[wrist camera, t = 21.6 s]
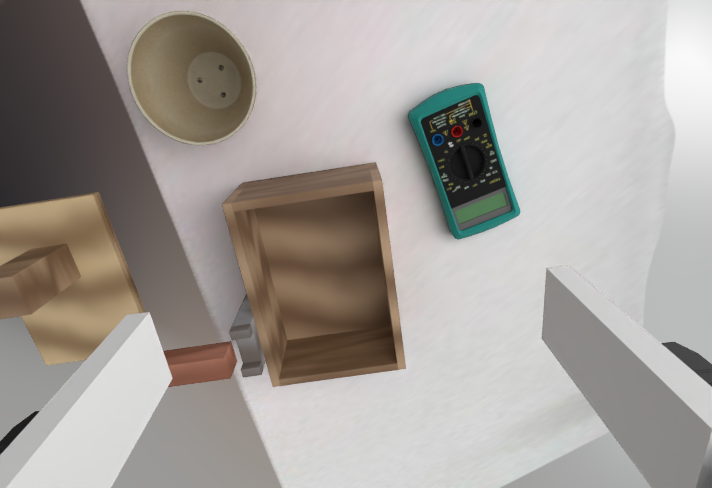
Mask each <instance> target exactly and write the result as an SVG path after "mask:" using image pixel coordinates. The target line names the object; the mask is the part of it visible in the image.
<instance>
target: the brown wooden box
mask: <svg viewBox="0 0 712 488" xmlns="http://www.w3.org/2000/svg"><path fill="white" fill-rule="evenodd" d="M222 207H223V210H224V214H225V217H226V221H227V225H228V228H229V232H230V235H231V239H232V242H233V246H234V250H235V253H236V257H237V260H238V264H239V268H240V271H241V275H242V278H243V282H244V285H245V289H246V293H247V294H246V296H245V298H244V300H243V303H242V305H241V307H240V309H239V312H238V314H237V316H236V318H235V320H234V323H233V325H232V327H231V329H230V332H229V333H230V336H231V340H236V341H237V345H238V348H239V351H240V354H241V358H242V361H243V365H242V368H241V372H242V375H243V377H249V376H256V375H262V371H263V367H264V364H265V361H266V364H267V368H268V371H269V375H270V379H271V382H272V386H273V387H276V386H283V385H291V384H298V383H305V382H312V381H320V380H327V379H334V378H342V377H349V376H356V375H363V374H371V373H378V372H385V371H393V370H400V369H406V365H405V357H404V349H403V341H402V333H401V326H400V318H399V310H398V302H397V294H396V286H395V278H394V270H393V262H392V254H391V247H390V239H389V231H388V223H387V215H386V207H385V199H384V191H383V183H382V179H381V176H380V173H379V170H378V168H377V165H376V162H375V163H368V164H362V165H355V166H349V167H342V168H336V169H329V170H323V171H316V172H310V173H303V174H297V175H290V176H283V177H277V178H270V179H264V180H257V181H251V182H244V183H242V184H241V185H240V186H239V187H238V188H237V189H236V190H235V191H234V192H233V193H232V195H231V196H230V197H229V198H228V199H227V200H226V201H225V202H224V203H223V204H222Z"/></svg>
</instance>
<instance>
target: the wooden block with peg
mask: <svg viewBox="0 0 712 488" xmlns="http://www.w3.org/2000/svg"><path fill="white" fill-rule="evenodd" d="M138 313H146V311H145V309H144V307H143V304H142V302H141V299H140V296H139V294H138V291H137V288H136V286H135V284H134V281H133V278H132V276H131V273H130V271H129V268H128V265H127V263H126V260H125V258H124V255H123V253H122V250H121V248H120V245H119V243H118V240H117V238H116V235H115V232H114V230H113V227H112V225H111V222H110V219H109V217H108V214H107V212H106V209H105V207H104V204H103V202H102V199H101V196H100V194H99V192H96V193H89V194H83V195H76V196H70V197H64V198H57V199H51V200H45V201H38V202H32V203H25V204H19V205H13V206H7V207H0V319H5V318H11V317H19V316H21V318H22V319H23V321H24V323H25V325H26V327H27V329H28V331H29V333H30V335H31V337H32V338H33V340H34V342H35V344H36V346H37V348H38V350H39V352H40V354H41V356H42V358H43V360H44V361H45V363H46V365H54V364H61V363H68V362H75V361H82V360H86V359H87V358H88V357H89V356H90V355H91V354H92V353H93V352H94V351H95V349H96V348H97V347H98V346H99V345H100V344H101V343H102V342H103V341H104V339H105V338H106V337H107V336H108V335H109V334H110V333H111V332H112V331H113V329H114V328H115V327H116V326H117V325H118V324H119V323H120V322H121V321H122V319H123V318H124V317H125V316H126V315H129V314H138Z"/></svg>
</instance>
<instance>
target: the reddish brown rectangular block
mask: <svg viewBox="0 0 712 488" xmlns="http://www.w3.org/2000/svg"><path fill="white" fill-rule="evenodd" d="M163 352H164V355H165V358H166V361H167V364H168V367H169V369H170V372H171V375H172V378H173V379H172V380H171V382H170V384H169V386H168V387H172V386H179V385H186V384H194V383H201V382H208V381H215V380H222V379H229V378H231V376H232V373H233V371H234V368H235V365H236V363H237V359H236V356H235V353H234V349H233V346H232V343H231V341H230V342H223V343H216V344H209V345H202V346H195V347H188V348H181V349H174V350H167V351H163Z"/></svg>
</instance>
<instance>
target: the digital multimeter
mask: <svg viewBox="0 0 712 488" xmlns="http://www.w3.org/2000/svg"><path fill="white" fill-rule="evenodd" d="M408 118H409V120H410V122H411V125H412V127H413V129H414V132H415V134H416V137H417V139H418V141H419V144H420V146H421V149H422V151H423V154H424V156H425V159H426V161H427V164H428V166H429V169H430V171H431V174H432V177H433V180H434V183H435V186H436V189H437V191H438V194H439V197H440V200H441V203H442V207H443V210H444V213H445V216H446V219H447V223H448V226H449V229H450V232H451V233H452V235H453V236H454V238H455V239H462V238H465V237H468V236H472V235H475V234H478V233H481V232H484V231H486V230H489V229H491V228H494V227H496V226H498V225H500V224H503V223H505V222H507V221H509V220H511V219H513V218H515V217H517V216H518V215H519V214H520V209H519V206H518V203H517V200H516V197H515V194H514V192H513V189H512V186H511V183H510V180H509V177H508V174H507V171H506V168H505V165H504V162H503V158H502V155H501V152H500V149H499V145H498V142H497V138H496V134H495V130H494V126H493V123H492V119H491V115H490V111H489V107H488V102H487V98H486V94H485V90H484V86H483V85H482V84H480V83H472V84H466V85H460V86H456V87H452V88H449V89H445V90H443V91H441V92H438V93H436V94H434V95H432V96H431V97H429V98H428V99H426V100H425V101H423V102H422V103H420V104H419V105H418V106H416V107H415V108H414V109H412V110H411V111H410V112H409V114H408ZM421 125H422V126H421ZM426 139H427V140H426ZM451 153H452V154H451ZM448 160H449V161H448ZM482 173H483V174H482ZM455 179H456V180H455Z"/></svg>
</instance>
